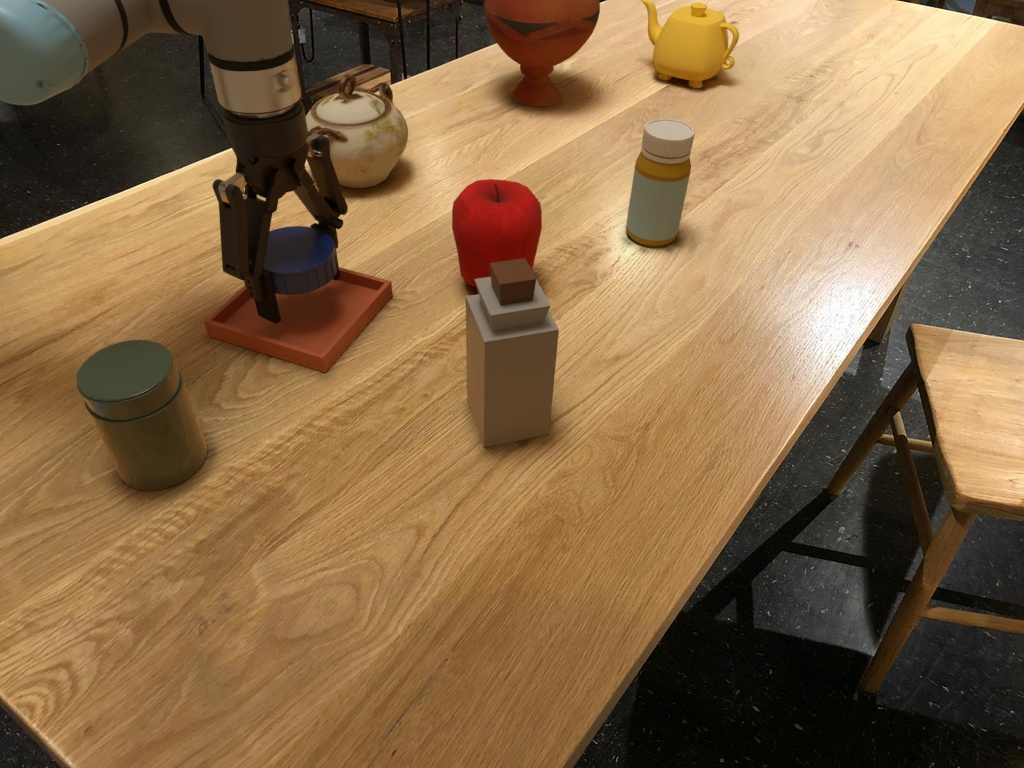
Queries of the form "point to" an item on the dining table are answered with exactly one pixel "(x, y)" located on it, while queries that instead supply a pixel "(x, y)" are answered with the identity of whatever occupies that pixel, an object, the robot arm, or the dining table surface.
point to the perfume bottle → (510, 355)
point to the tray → (304, 320)
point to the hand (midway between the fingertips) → (300, 296)
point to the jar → (143, 414)
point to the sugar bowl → (360, 132)
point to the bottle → (660, 182)
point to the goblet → (540, 39)
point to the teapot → (691, 43)
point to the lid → (300, 259)
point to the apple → (495, 226)
